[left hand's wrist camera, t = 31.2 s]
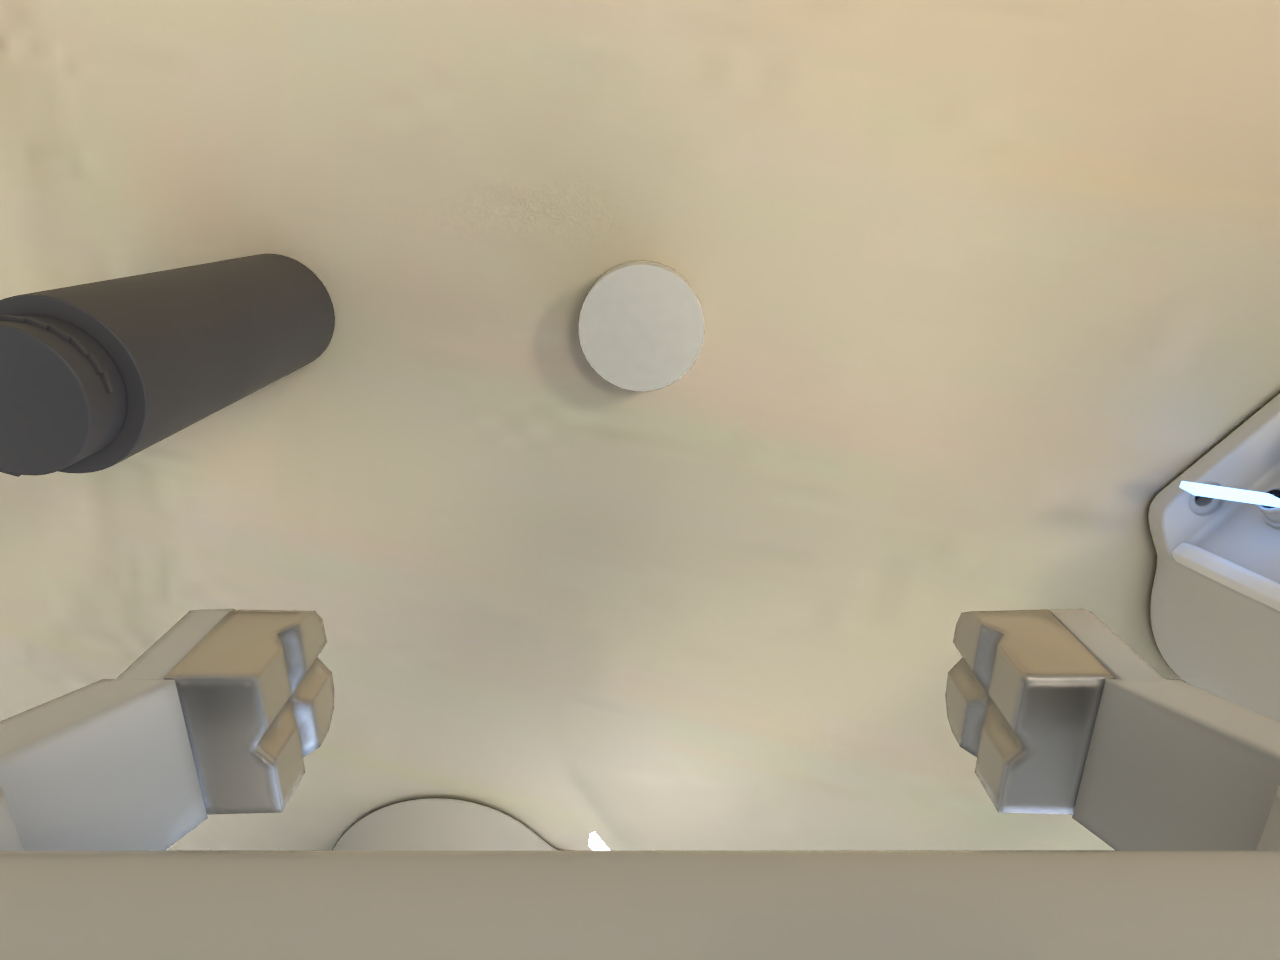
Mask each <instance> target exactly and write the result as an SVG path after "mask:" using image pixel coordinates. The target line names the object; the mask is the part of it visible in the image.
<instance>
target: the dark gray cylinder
mask: <svg viewBox="0 0 1280 960" xmlns="http://www.w3.org/2000/svg"><path fill="white" fill-rule="evenodd" d="M333 330H334V310H333V305H332V302H331V299H330V296H329V294H328V292H327V290H326V288H325V287H324V285H323V284H322V282H321V281H320V280H319V279H318V277H317V276H316V275H315V274H314V273H313V272H312V271H311V270H309V269H308V268H307V267H305V266H304V265H303V264H301V263H299V262H297V261H296V260H293V259H291V258H288V257H285V256H282V255H276V254H261V255H254V256H248V257H242V258H236V259H231V260H225V261H219V262H213V263H207V264H201V265H195V266H189V267H183V268H177V269H171V270H165V271H160V272H154V273H148V274H142V275H136V276H130V277H124V278H118V279H112V280H106V281H100V282H95V283H89V284H83V285H77V286H71V287H65V288H59V289H53V290H47V291H41V292H35V293H29V294H24V295H18V296H13V297H9V298H5V299H3V300H0V472H3V473H7V474H10V475H14V476H17V477H19V476H20V475H44V474H49V473H53V472H56V471H59V472H66V473H88V472H95V471H99V470H103V469H105V468H108V467H110V466H113V465H115V464H117V463H119V462H121V461H122V460H124V459H126V458H128V457H130V456H132V455H134V454H136V453H138V452H140V451H142V450H144V449H145V448H147V447H149V446H151V445H153V444H155V443H157V442H159V441H161V440H163V439H165V438H167V437H168V436H170V435H172V434H174V433H176V432H178V431H180V430H182V429H184V428H186V427H188V426H190V425H191V424H193V423H195V422H197V421H199V420H201V419H203V418H205V417H207V416H209V415H211V414H213V413H214V412H216V411H218V410H220V409H222V408H224V407H226V406H228V405H230V404H232V403H234V402H236V401H237V400H239V399H241V398H243V397H245V396H247V395H249V394H251V393H253V392H255V391H257V390H259V389H260V388H262V387H264V386H266V385H268V384H270V383H272V382H274V381H276V380H278V379H280V378H282V377H283V376H285V375H287V374H289V373H291V372H293V371H295V370H297V369H299V368H301V367H303V366H305V365H306V364H308V363H310V362H312V361H314V360H315V359H316V358H318V357H319V356H320V355H321V354H322V353H323V352H324V350H325V349H326V348H327V346H328V344H329V342H330V340H331V338H332V334H333Z"/></svg>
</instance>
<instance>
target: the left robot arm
mask: <svg viewBox="0 0 1280 960" xmlns="http://www.w3.org/2000/svg"><path fill="white" fill-rule="evenodd" d="M1196 496H1201V497H1200V498H1198V499H1197V500H1195V497H1196ZM1148 519H1149V526H1150V531H1151V535H1152V539H1153V543H1154V546H1155V549H1156V552H1157V567H1156V573H1155V578H1154V583H1153V588H1152V594H1151V604H1150V616H1151V626H1152V631H1153V635H1154V639H1155V642H1156V644H1157V647H1158V649H1159V651H1160V653H1161V655H1162V657H1163V658H1164V660H1165V661H1166V663H1167V664H1168V666H1169V667H1170V668H1171V669H1172V670H1173V671H1174V672H1175V673H1176V674H1177V675H1178V676H1179V677H1180V678H1181V679H1182V680H1184V681H1185V682H1186V683H1185V682H1182V681H1180V680H1176V679H1163V678H1162V677H1161V676H1160V675H1159V674H1158V673H1157V672H1156V671H1155V670H1154V669H1153V668H1151V667H1150V666H1149V665H1148V664H1147V663H1146V662H1145V661H1144V660H1143V659H1142V658H1141V657H1140V656H1139V655H1137V654H1136V653H1135V652H1134V651H1133V650H1132V649H1131V648H1130V647H1129V646H1128V645H1127V644H1126V643H1124V642H1123V641H1122V640H1121V639H1120V638H1119V637H1118V636H1117V635H1116V634H1115V633H1114V632H1113V631H1111V630H1110V629H1109V628H1108V627H1107V626H1106V625H1105V624H1104V623H1103V622H1102V621H1101V620H1100V619H1099V618H1097V617H1096V616H1095V615H1094V614H1093V613H1092V612H1090V611H1087V610H1084V609H1060V610H1012V611H971V612H964V613H961V615H960V617H959V619H958V622H957V624H956V628H955V634H954V640H953V643H954V644H955V646H956V647H957V649H958V650H959V652H960V654H961V655H962V657H963V658H962V659H961V660H960V661H959V662H958V663H957V664H956V665H955V666H954V667H953V668H952V669H951V670H950V671H949V672H948V678H947V687H946V695H945V696H946V706H947V716H948V720H949V723H950V726H951V729H952V732H953V734H954V736H955V738H956V740H957V742H958V743H959V745H960V747H962V748H963V749H965V750H966V751H968V752H969V753H971V754H973V755H974V756H976V757H977V762H976V768H975V773H976V775H977V777H978V778H979V780H980V782H981V783H982V785H983V787H984V789H985V790H986V792H987V794H988V795H989V797H990V799H991V801H992V802H993V804H994V806H995V807H996V809H997V811H998V812H1006V813H1042V814H1073V816H1072V818H1073V819H1075V820H1076V821H1077V822H1079V823H1080V824H1081V825H1083V826H1084V827H1085V828H1087V829H1088V830H1089V831H1091V832H1092V833H1093V834H1095V835H1096V836H1097V837H1099V838H1100V839H1101V840H1103V841H1104V842H1105V843H1107V844H1108V845H1109V846H1111V847H1112V848H1113V849H1115V850H1105V851H164V850H166V849H167V848H168V847H170V846H171V845H172V844H174V843H175V842H176V841H178V840H179V839H180V838H182V837H183V836H184V835H186V834H187V833H188V832H190V831H191V830H192V829H194V828H195V827H196V826H198V825H199V824H200V823H202V822H203V821H204V820H206V819H207V817H208V816H207V814H237V813H272V812H282V811H283V809H284V808H285V806H286V804H287V802H288V801H289V799H290V797H291V795H292V794H293V792H294V790H295V789H296V787H297V785H298V783H299V782H300V780H301V778H302V777H303V775H304V773H305V768H304V762H303V757H304V756H306V755H307V754H309V753H311V752H312V751H314V750H315V749H317V748H318V747H320V745H321V743H322V742H323V740H324V738H325V736H326V734H327V732H328V730H329V726H330V722H331V718H332V714H333V710H334V684H333V677H332V672H331V671H330V670H329V669H328V668H327V667H326V666H325V665H324V664H323V663H322V662H321V661H320V660H319V659H318V658H317V657H318V655H319V654H320V652H321V651H322V649H323V647H324V646H325V644H326V643H327V640H326V635H325V630H324V625H323V620H322V618H321V617H320V616H319V615H318V614H317V613H316V611H285V610H235V609H207V610H194V611H189V612H188V613H187V614H186V615H185V616H184V617H183V618H182V619H181V620H180V621H178V622H177V623H176V624H175V625H174V626H173V627H172V628H171V629H170V630H169V631H168V632H167V633H165V634H164V635H163V636H162V637H161V638H160V639H159V640H158V641H157V642H156V643H155V644H154V645H152V646H151V647H150V648H149V649H148V650H147V651H146V652H145V653H144V654H143V655H142V656H141V657H139V658H138V659H137V660H136V661H135V662H134V663H133V664H132V665H131V666H130V667H129V668H128V669H126V670H125V671H124V672H123V673H122V674H121V675H120V676H119V677H118V678H117V679H105V680H100V681H98V682H95V683H93V684H90V685H88V686H85V687H83V688H81V689H78V690H76V691H73V692H71V693H68V694H66V695H64V696H61V697H59V698H56V699H54V700H51V701H49V702H47V703H44V704H42V705H39V706H37V707H35V708H32V709H30V710H27V711H25V712H22V713H20V714H18V715H15V716H13V717H10V718H8V719H5V720H3V721H1V722H0V960H1280V393H1279V394H1278V395H1277V396H1276V397H1274V398H1273V399H1272V400H1271V401H1270V402H1268V403H1267V404H1266V405H1265V406H1263V407H1262V408H1261V409H1260V410H1259V411H1257V412H1256V413H1255V414H1254V415H1253V416H1251V417H1250V418H1249V419H1248V420H1246V421H1245V422H1244V423H1243V424H1242V425H1240V426H1239V427H1238V428H1237V429H1236V430H1234V431H1233V432H1232V433H1231V434H1229V435H1228V436H1227V437H1226V438H1225V439H1223V440H1222V441H1221V442H1220V443H1219V444H1217V445H1216V446H1215V447H1214V448H1212V449H1211V450H1210V451H1209V452H1208V453H1206V454H1205V455H1204V456H1203V457H1202V458H1200V459H1199V460H1198V461H1197V462H1195V463H1194V464H1193V465H1192V466H1191V467H1189V468H1188V469H1187V470H1186V471H1185V472H1183V473H1182V474H1181V475H1180V476H1178V477H1177V478H1176V479H1175V480H1174V481H1172V482H1171V483H1170V484H1169V485H1168V486H1166V487H1165V488H1164V489H1163V490H1162V491H1160V492H1159V493H1158V494H1157V495H1156V497H1155V498H1154V499H1153V501H1152V503H1151V505H1150V507H1149V513H1148ZM1187 683H1188V684H1187Z"/></svg>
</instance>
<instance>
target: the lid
mask: <svg viewBox="0 0 1280 960" xmlns="http://www.w3.org/2000/svg"><path fill="white" fill-rule="evenodd" d="M704 332H705V323H704V316H703V312H702V308H701V305H700V303H699V301H698V298H697V296H696V295H695V293H694V291H693V289H692V288H691V286H690V285H689V284H688V282H687V281H686V280H685V279H684V278H683V277H682V276H681V275H680V274H678V273H677V272H675V271H674V270H672V269H671V268H669V267H667V266H665V265H662V264H659V263H655V262H651V261H633V262H627V263H624V264H621V265H618V266H616V267H614V268H612V269H610V270H609V271H607V272H606V273H605V274H603V275H602V276H601V277H600V278H599V279H598V280H597V281H596V282H595V283H594V285H593V286H592V288H591V289H590V291H589V292H588V294H587V296H586V298H585V300H584V303H583V305H582V308H581V311H580V316H579V323H578V333H579V340H580V345H581V348H582V351H583V353H584V355H585V357H586V359H587V361H588V362H589V364H590V366H591V367H592V368H593V369H594V370H595V372H596V373H597V374H599V375H600V376H601V377H602V378H603V379H605V380H606V381H608V382H609V383H611V384H613V385H615V386H617V387H620V388H623V389H626V390H631V391H652V390H657V389H660V388H663V387H666V386H668V385H670V384H672V383H674V382H675V381H677V380H678V379H680V378H681V377H682V376H683V375H684V374H685V373H686V372H687V371H688V370H689V369H690V368H691V367H692V365H693V364H694V362H695V361H696V359H697V357H698V355H699V353H700V350H701V348H702V344H703V340H704Z"/></svg>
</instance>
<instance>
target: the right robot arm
mask: <svg viewBox="0 0 1280 960" xmlns="http://www.w3.org/2000/svg"><path fill="white" fill-rule="evenodd" d="M589 847H590V848H591V849H592V850H593V851H610V850H609V848H608V847H607V846H606V845H605V844H604V842H603V841H602V840H601V839H600V837H599V836H598V835H597V834H596V833H595V831H594V832H592V833H590V835H589ZM333 851H559V850H556V849H555V848H553V847H552V846H550V845H549V844H547V843H546V842H545V841H543V840H542V839H541V838H540V837H539V836H538V835H536V834H535V833H534V832H533V831H532V830H530V829H529V828H528V827H526V826H525V825H524V824H522V823H520V822H519V821H517V820H516V819H514V818H512V817H510V816H508V815H506V814H504V813H502V812H500V811H498V810H495V809H492V808H490V807H487V806H484V805H480V804H477V803H473V802H468V801H463V800H456V799H446V798H426V799H416V800H409V801H404V802H399V803H396V804H392V805H389V806H386V807H383V808H381V809H379V810H376V811H374V812H372V813H370V814H369V815H367V816H365V817H364V818H362V819H361V820H359V821H358V822H356V823H355V824H354V825H353V826H352V827H350V828H349V829H348V830H347V831H346V832H345V833H344V835H343V836H342V837H341V838H340V840H339V841H338V843H337V844H336V846H335V847H334V849H333Z"/></svg>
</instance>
